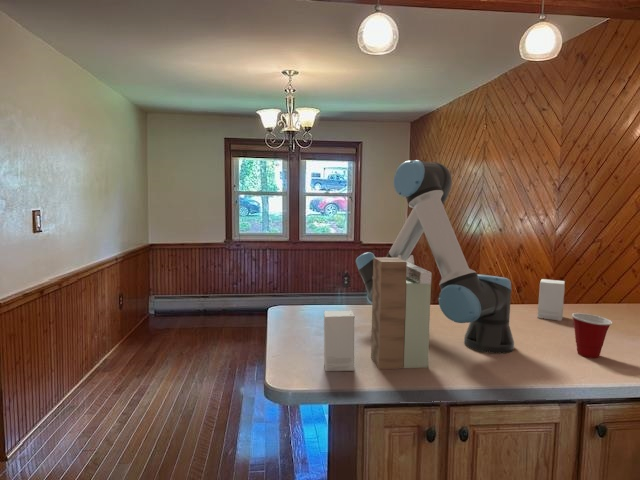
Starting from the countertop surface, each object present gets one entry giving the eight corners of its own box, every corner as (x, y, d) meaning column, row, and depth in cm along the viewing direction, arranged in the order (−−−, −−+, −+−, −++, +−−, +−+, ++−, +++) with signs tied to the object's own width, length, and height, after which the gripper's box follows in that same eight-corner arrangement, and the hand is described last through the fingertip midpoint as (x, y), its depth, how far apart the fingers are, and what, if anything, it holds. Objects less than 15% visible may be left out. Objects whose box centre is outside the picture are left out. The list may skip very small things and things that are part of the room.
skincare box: (352, 363, 129) (353, 309, 127) (354, 372, 122) (355, 316, 121) (322, 363, 128) (323, 309, 127) (323, 372, 122) (324, 315, 120)
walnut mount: (370, 357, 133) (373, 257, 131) (393, 356, 134) (396, 257, 132) (378, 369, 125) (381, 261, 122) (403, 368, 126) (406, 261, 123)
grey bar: (393, 269, 142) (393, 259, 142) (402, 269, 142) (403, 259, 142) (420, 283, 118) (420, 272, 118) (431, 283, 119) (431, 272, 118)
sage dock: (394, 356, 134) (396, 277, 132) (416, 356, 135) (419, 277, 133) (403, 368, 126) (406, 283, 123) (427, 367, 126) (430, 283, 124)
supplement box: (562, 321, 178) (564, 284, 176) (537, 318, 182) (539, 281, 181) (563, 316, 185) (565, 280, 184) (538, 313, 190) (541, 278, 188)
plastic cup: (611, 363, 131) (614, 323, 130) (569, 357, 137) (571, 318, 135) (608, 353, 141) (611, 315, 140) (569, 347, 146) (571, 310, 145)
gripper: (410, 295, 155) (434, 270, 133) (364, 295, 153) (381, 271, 131) (407, 274, 158) (430, 247, 137) (362, 274, 156) (378, 247, 134)
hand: (406, 259), depth 134 cm, fingers closed on grey bar, 3 cm apart
